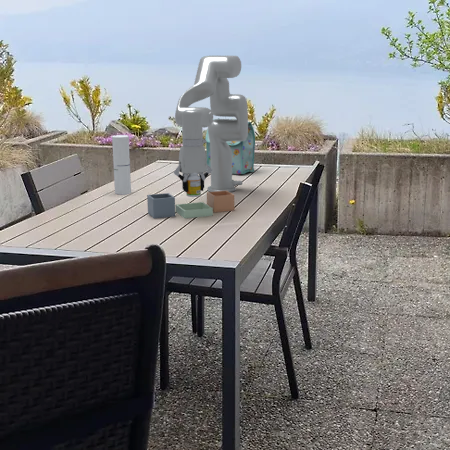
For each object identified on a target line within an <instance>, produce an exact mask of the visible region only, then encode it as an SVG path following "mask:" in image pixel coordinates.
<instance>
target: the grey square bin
mask: <svg viewBox="0 0 450 450" xmlns="http://www.w3.org/2000/svg"><path fill="white" fill-rule="evenodd" d="M146 196H147V214H148V215H149V216H150V217H151V218H153V219H163V218H170V217H172V218H173V217H176V206H175V205H176V200H175V199H176V197H175V196H173V195H172V194H170V192H165V193H154V194H147V195H146Z"/></svg>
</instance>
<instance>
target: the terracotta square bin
mask: <svg viewBox="0 0 450 450" xmlns="http://www.w3.org/2000/svg"><path fill="white" fill-rule="evenodd" d="M206 204H207V205H208V206H210V207H211V208H213V213H222V212H223V213H225V212H233V211H235V193H232V192H228V191H216V192H210V191H207V192H206Z"/></svg>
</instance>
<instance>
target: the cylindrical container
mask: <svg viewBox="0 0 450 450" xmlns="http://www.w3.org/2000/svg"><path fill="white" fill-rule="evenodd" d="M129 138H130V136H129V135H127V134H125V135H124V134H119V135H117V134H116V135H112V136H111V141H112V142H111V143H112V144H111V145H112V162H113V179H114V181H113V182H114V194H116V195H129V194H131V193H132V182H131V181H132V179H131V178H132V177H131V176H132V175H131V158H130V153H131V152H130V139H129Z"/></svg>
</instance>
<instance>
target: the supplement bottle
mask: <svg viewBox="0 0 450 450" xmlns="http://www.w3.org/2000/svg"><path fill="white" fill-rule="evenodd" d="M187 182H188V192H185V193H186V196H187V197H191V198H196V197H200V196H201V194H202V193H201V192H202V191H201V182H200V176H199V174H198V173H192V174H188V177H187Z"/></svg>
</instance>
